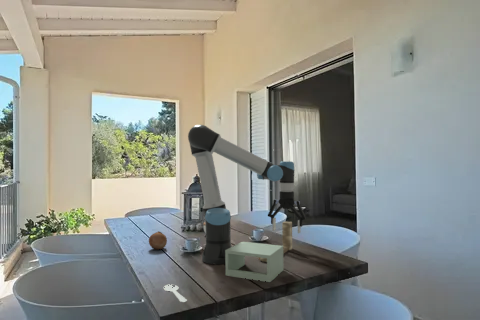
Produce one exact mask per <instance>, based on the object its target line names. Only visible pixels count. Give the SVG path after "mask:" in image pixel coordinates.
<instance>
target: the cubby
mask: <svg viewBox="0 0 480 320" xmlns="http://www.w3.org/2000/svg"><path fill="white" fill-rule="evenodd" d="M246 257H252V258H259V257H260V258H267V262H266V273H262V272H255V271H246V270H241V269H240V268H242V267H244V266H245V264H246ZM239 269H240V270H239ZM283 271H284V254H283V245H277V244H267V243H259V242H250V241H241V242H238V243H237V244H235V245H232V247H231V248H229V249H227V250H225V276H228V277H233V278H240V279H241V278H242V279H245V278H246V279H247V280H252V279H253V280H254V281H258V280H260V281H259V282H265V281H266V283H271V282H272V281H273V280H274V279H275V278H276V277H277V276H278V274H279V275H280V274H281V273H282V272H283ZM246 279H245V280H246ZM253 280H252V281H253Z"/></svg>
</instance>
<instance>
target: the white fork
mask: <svg viewBox="0 0 480 320" xmlns="http://www.w3.org/2000/svg"><path fill="white" fill-rule="evenodd" d="M170 284H171V283H169V284H165V285H164V286H163V290H164V291H165V292H168V291H170V292H169V293H172V294H173V295H174V296H175V297H176V299H177V300H178V301H179V302H180V303H186V302H187V301H188V299H187V298H186V297H185V296H183V295H182V294H181V293H179V291H178V290H179V289H180V287H179V286H178V285H176V284H174V285H175V287H173V286H172V285H173V284H171V285H170ZM168 285H169V286H168ZM164 287H165V288H164ZM172 287H173V288H172Z"/></svg>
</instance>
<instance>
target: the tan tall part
mask: <svg viewBox="0 0 480 320" xmlns="http://www.w3.org/2000/svg"><path fill="white" fill-rule="evenodd" d="M281 227H282V233H281V234H282V237H281V238H282V239H281V240H282V246H283V255H284V254H285V253H287V252H288V251H291V250H293V222H292V221H283V222H282V225H281ZM259 262H266V263H267V258H260V260H259Z"/></svg>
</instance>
